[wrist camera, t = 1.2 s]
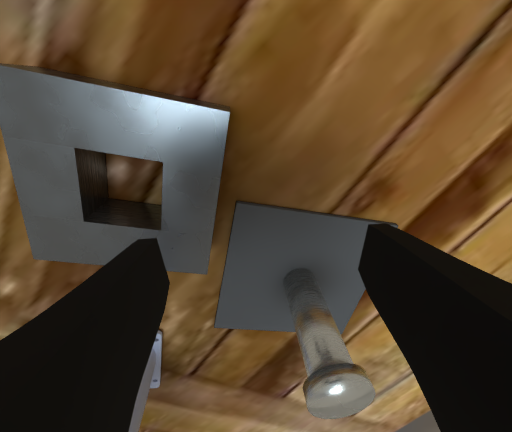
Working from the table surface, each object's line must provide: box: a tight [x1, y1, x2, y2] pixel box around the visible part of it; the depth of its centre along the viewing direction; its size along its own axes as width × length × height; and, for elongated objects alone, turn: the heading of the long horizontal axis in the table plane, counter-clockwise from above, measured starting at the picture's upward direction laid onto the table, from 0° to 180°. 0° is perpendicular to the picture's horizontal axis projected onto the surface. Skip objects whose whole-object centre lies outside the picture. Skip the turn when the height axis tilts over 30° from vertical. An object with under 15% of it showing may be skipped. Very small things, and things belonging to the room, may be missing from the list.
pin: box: [283, 268, 375, 419], centre depth 19 cm, size 4×4×10 cm
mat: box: [214, 201, 398, 334], centre depth 23 cm, size 14×14×1 cm
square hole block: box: [0, 63, 230, 274], centre depth 16 cm, size 11×11×4 cm
